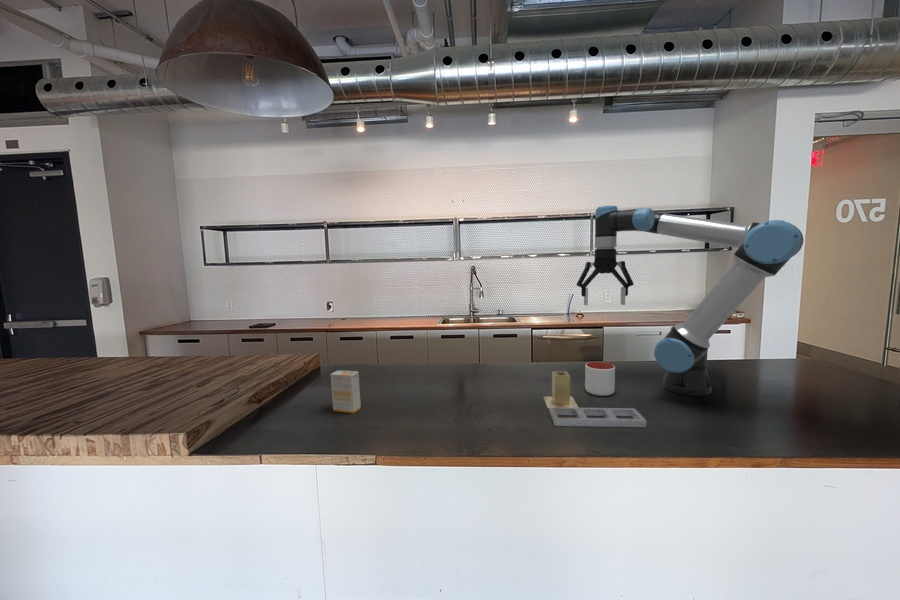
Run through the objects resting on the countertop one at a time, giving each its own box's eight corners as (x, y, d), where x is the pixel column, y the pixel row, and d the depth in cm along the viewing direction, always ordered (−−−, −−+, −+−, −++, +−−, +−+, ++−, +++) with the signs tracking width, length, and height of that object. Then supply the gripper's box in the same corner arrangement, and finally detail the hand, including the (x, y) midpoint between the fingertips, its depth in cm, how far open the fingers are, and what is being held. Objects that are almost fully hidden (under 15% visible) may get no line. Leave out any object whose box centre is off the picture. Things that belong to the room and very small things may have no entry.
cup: (617, 397, 132) (618, 370, 131) (587, 396, 134) (587, 369, 133) (611, 388, 142) (611, 362, 141) (583, 386, 144) (583, 361, 143)
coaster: (572, 397, 133) (572, 396, 133) (579, 409, 124) (579, 408, 123) (543, 397, 134) (543, 396, 134) (547, 408, 125) (547, 407, 124)
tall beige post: (566, 399, 131) (566, 370, 130) (569, 404, 126) (570, 375, 125) (551, 399, 132) (552, 370, 130) (554, 404, 127) (554, 375, 125)
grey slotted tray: (634, 414, 119) (634, 408, 118) (646, 427, 110) (646, 420, 109) (549, 413, 121) (549, 407, 121) (554, 425, 112) (554, 419, 112)
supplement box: (361, 408, 129) (359, 371, 127) (353, 414, 124) (351, 375, 123) (340, 405, 132) (338, 369, 130) (332, 411, 127) (329, 373, 126)
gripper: (636, 247, 144) (634, 303, 147) (569, 249, 147) (568, 303, 149) (644, 247, 137) (642, 305, 139) (573, 249, 139) (572, 306, 142)
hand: (604, 304), depth 144 cm, fingers open, 13 cm apart
